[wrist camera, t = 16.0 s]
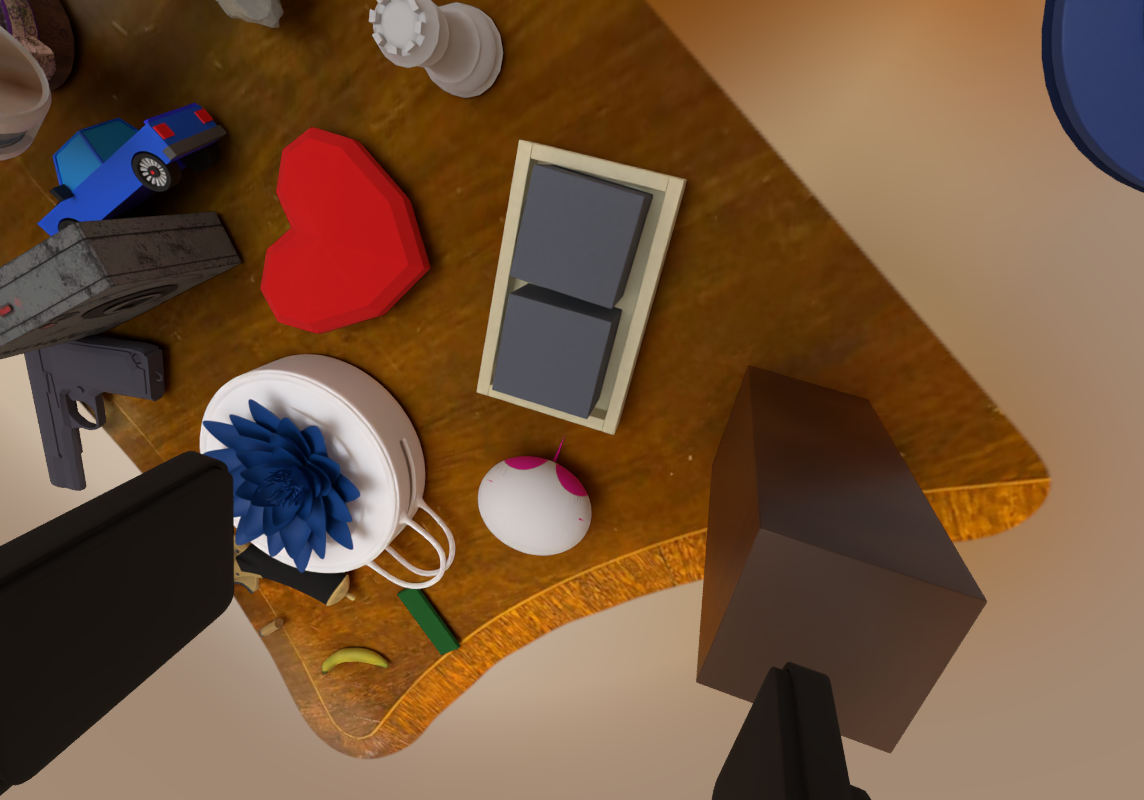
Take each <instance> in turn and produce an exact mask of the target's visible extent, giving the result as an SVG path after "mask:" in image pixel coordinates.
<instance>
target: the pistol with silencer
mask: <svg viewBox="0 0 1144 800" xmlns="http://www.w3.org/2000/svg"><path fill="white" fill-rule="evenodd" d="M235 536H236V534H234V583H236V584H240V585H242V586H244V587H246V588H247V589H248V591H249V592H250V593H251V594H252V593H253V592H254V591H256V590H258V588H259V586H260V585H259V578H267V579H270V580H273V581H276V582H279V583H282V584H284V585H287V586H290V587H292V588H294V589H297V590H299V591H301V592H303V593H305V594H307V595H309V596H311V597H313V598H315V599H317V600H318V601H320V602H322V603H324V604H325V605H327V606H330V605H333V604H335V603H337V602H339V601H340V600H341V599H342V598H344V597H345V596H346V597H347V598H348V599H350V600H353V601H354V599H355V598H356V597H355V596H354V595H353V594H351V593H348V589H349V585H350V580H349V575H346V574H344V573H342V572H340V573H319V572H312V571H306V570H305V571H304V572H303V573H301V572H300V571H299V570H298V569H297V568H296V567H293V566H290V565H288V564H285V563H283V562H281V561H279V560H277V559H275V558H273V557H271V556H270V555H268V554H266V553H265V552H263V551H262V550H260V549H259V548H258V547H256V546H255V545H254V544H251V542H249V543H246V544H243V545H236V543H235ZM283 624H284V622H283V620H282V619H281V618H277V619H275V620H274V621H273V622H271V623H270V624H268V625H267V626H265V627H263V628H262V629H261V630H260V635H261V636H263V637H264V636H267V635H269V634H270V633H272V632H274V631H275V630H277V629H280V628H282V627H283Z"/></svg>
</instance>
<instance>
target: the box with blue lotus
mask: <svg viewBox="0 0 1144 800" xmlns="http://www.w3.org/2000/svg"><path fill="white" fill-rule="evenodd" d="M200 453H201V454H203V455H206V456H209V457H212V458H215V459H218V460H220V461H222V462H224V463H225V464H226V465H227V467H228V472H229V473H230V474H231V475H232V477H233V503H234V526H235V527H236V528H237V531H236V536H235V543H236V545H243V544H246V543H249V542H251V543H253V544H254V545H255V546H256V547H258V548H259V549H260V550H262V551H263V552H265V553H266V554H268V555H270V556H271V557H273V558H275V559H277V560H279V561H281V562H283V563H285V564H288V565H290V566H293V567H296V568H297V569H298V570H299V571H300V572H301V573H303V572H304V571H305V570H306V571H312V572H319V573H340V572H346V571H351V570H354V569H357V568H359V567H362V566H364V565H367V566H369V567H371V568H373V569H374V570H376V571H377V572H378V573H380V574H381V575H383V576H384V577H386V578H387V579H389V580H390V581H392V582H394V583H396V584H398V585H400V586H402V587H405V588H410V589H421V588H426V587H429V586H431V585H434V584H435V583H436V582H438V581H439V580H440V579H441V577H442V576H443V574H444V571H446V570H447V569H448V568H449V567H450V565H451V564H452V562H453V559H454V556H455V541H454V538H453V535H452V533H451V531H450V529H449V528H448V526H447V525H446V524H445V523H444V521H443V520H442V519H441V518H440V517H439V516H438V515H437V514H436V513H435V512H434V511H433V510H432V509H431V508H430V507H429V506H428V505H427V504H426V503H425V502H424V500H423V498H422V497H423V492H424V487H425V464H424V457H423V453H422V448H421V445H420V442H419V439H418V436H417V434H416V432H415V429H414V427H413V425H412V423H411V422H410V420H409V418H408V416H407V415H406V413H405V412H404V410H403V409H402V407H401V406H400V405H399V403H398V402H397V401H396V400H395V399H394V397H393V396H392V395H391V394H390V393H389V392H388V391H387V390H386V389H385V388H384V387H383V386H382V385H381V384H379V383H378V382H377V381H376V380H374V379H373V378H372V377H370V376H369V375H368V374H366V373H365V372H363V371H361V370H360V369H358V368H356V367H354V366H352V365H350V364H348V363H346V362H343V361H341V360H338V359H335V358H331V357H327V356H322V355H315V354H299V355H292V356H288V357H284V358H281V359H279V360H276V361H274V362H271V363H269V364H266V365H264V366H262V367H259V368H257V369H254V370H252V371H249V372H247V373H245V374H242V375H240V376H237V377H236V378H234V379H232V380H230V381H229V382H227V383H226V384H225V385H224V386H222V387H221V388H220V389H219V390H218V391H217V393H216V394H215V395H214V396H213V398H212V399H211V401H210V403H209V405H208V407H207V409H206V411H205V414H204V417H203V421H202V425H201V432H200ZM419 507H420V508H422V509H424V510H425V511H426V512H428V513H429V514H430V515H431V516H432V517H433V518H434V519H435V520H436V521H437V522H438V523H439V525H440V526H441V527H442V529H443V530H444V531H445V533H446V535H447V537H448V540H449V545H450V553H449V557H448V560H447V562H446V557H445V553H444V551H443V549H442V547H441V545H440V544H439V543H438V542H437V541H436V539H435V538H434V537H433V536H431V535H430V534H429V533H428V532H427V531H426V530H424V529H423V528H422V527H421V526H419V525H418V524H417V523H416V522H414V521H413V520H412V518H413V517H414V515H415V513H416V512H417V510H418V508H419ZM406 525H409V526H411V527H412V528H414V529H415V530H416V531H418V532H419V533H420V534H421V535H422V536H424V537H425V538H426V539H427V540H428V541H429V542H430V543H431V544H432V545H433V546H434V547H435V549H436V550H437V552H438V554H439V556H440V569H437V570H433V571H425V570H421V569H418V568H416V567H415V566H413V565H411V564H410V563H409V562H407V561H406V560H405V559H404V558H403V557H401V556H400V555H399V554H398V553H397V552H396V551H395V550H394V549H393V548H392V547H391V546H390V545H389V544H390V543H391V542H392V541H393V539H394V538H395V537H396V536H397V535H398V534H399V533H400V532H401V531H402V530H403V529H404V528H405V527H406ZM384 549H385V550H386V551H388V552H389V553H390V554H391V555H392V556H393V557H395V558H396V559H397V560H398V561H399V562H400V563H401V564H402V565H404V566H405V567H406V568H408V569H409V570H410V571H412V572H414V573H416V574H418V575H421V576H435V575H436V577H434V578H433V579H432V580H429V581H427V582H423V583H408V582H405V581H402V580H400V579H398V578H396V577H394V576H392V575H391V574H389V573H388V572H386V571H385V570H383V569H382V568H380V567H379V566H378V565H377V564H376V563H375V562H374V561H373V560H374V559H375V558H376V557H377V556H378V555H379V554H380V553H381V552H382V551H383V550H384Z"/></svg>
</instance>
